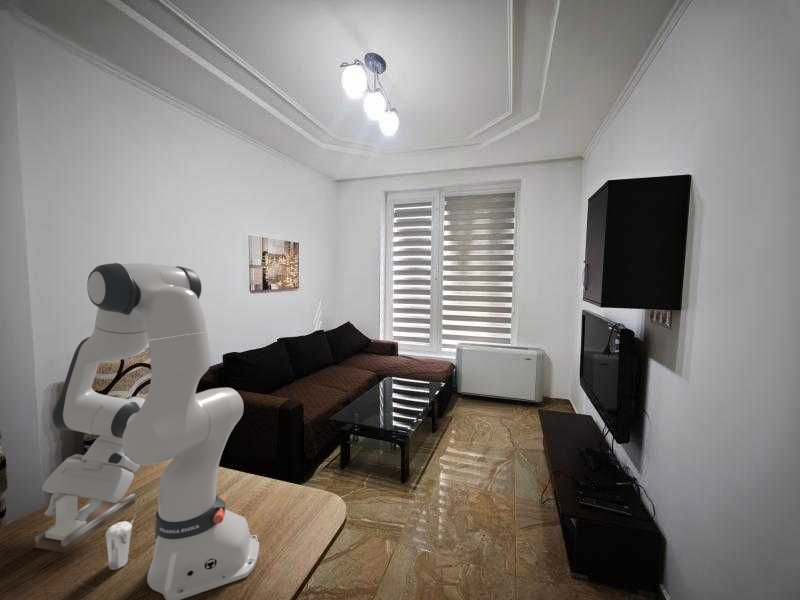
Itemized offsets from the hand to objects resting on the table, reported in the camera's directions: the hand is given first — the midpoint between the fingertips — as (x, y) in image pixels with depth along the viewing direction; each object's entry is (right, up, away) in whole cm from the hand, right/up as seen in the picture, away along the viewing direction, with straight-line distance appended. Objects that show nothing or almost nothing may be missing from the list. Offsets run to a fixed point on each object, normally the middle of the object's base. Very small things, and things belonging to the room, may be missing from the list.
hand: (63, 518), depth 81 cm
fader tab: (0, -4, +1) cm, 4 cm away
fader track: (0, -5, +6) cm, 8 cm away
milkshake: (+18, -7, -5) cm, 20 cm away
